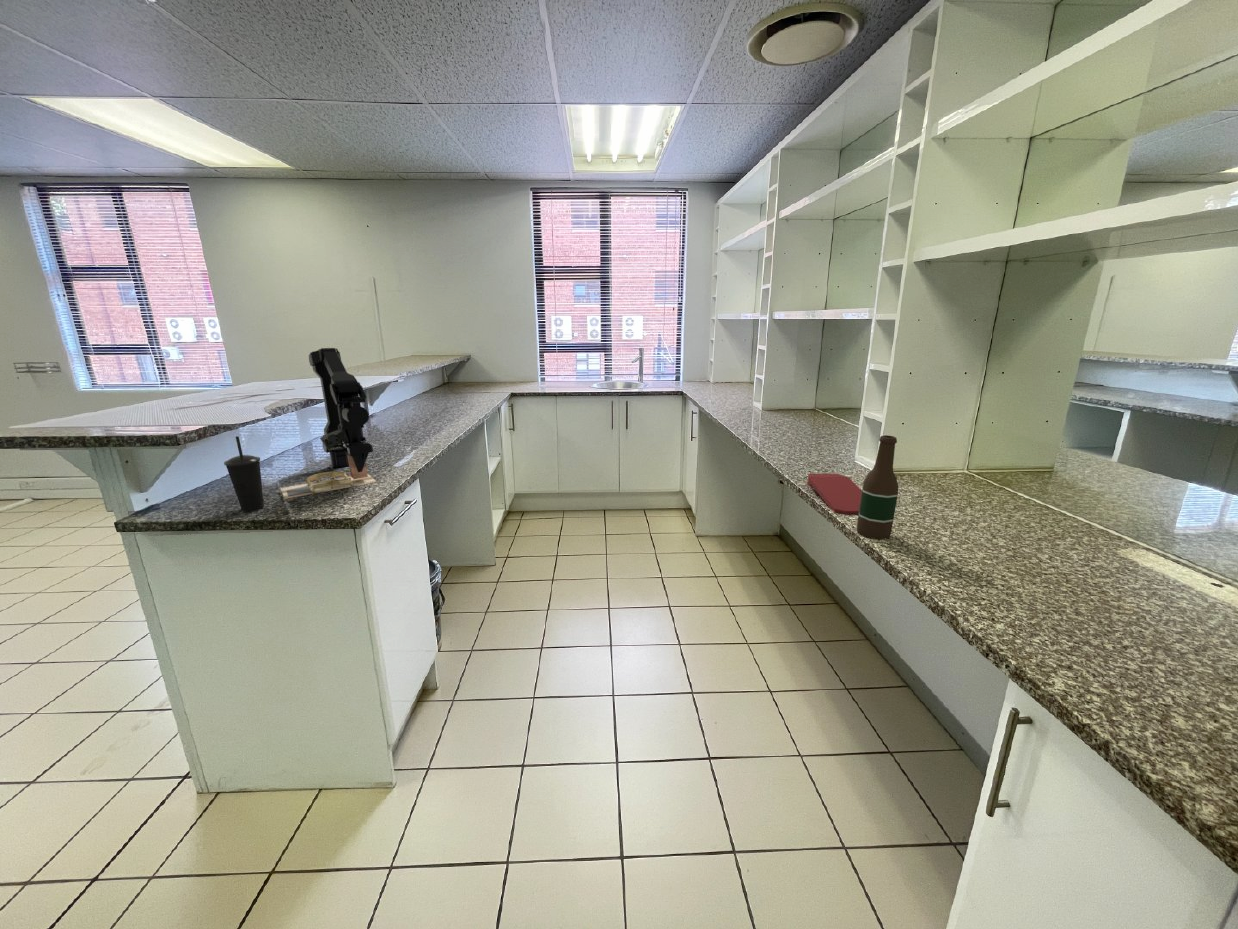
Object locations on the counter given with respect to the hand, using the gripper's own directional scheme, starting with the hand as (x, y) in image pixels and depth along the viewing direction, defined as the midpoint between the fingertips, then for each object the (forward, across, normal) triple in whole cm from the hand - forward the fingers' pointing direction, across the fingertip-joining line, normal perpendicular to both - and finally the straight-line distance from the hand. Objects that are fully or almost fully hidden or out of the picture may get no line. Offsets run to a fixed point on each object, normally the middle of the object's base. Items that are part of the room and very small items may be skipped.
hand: (358, 470), depth 149 cm
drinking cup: (+5, +5, -28) cm, 28 cm away
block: (+2, 0, 0) cm, 2 cm away
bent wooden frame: (+4, -2, -8) cm, 9 cm away
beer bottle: (+5, +120, +86) cm, 147 cm away
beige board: (+4, -2, -8) cm, 9 cm away
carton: (+5, +102, +104) cm, 146 cm away
